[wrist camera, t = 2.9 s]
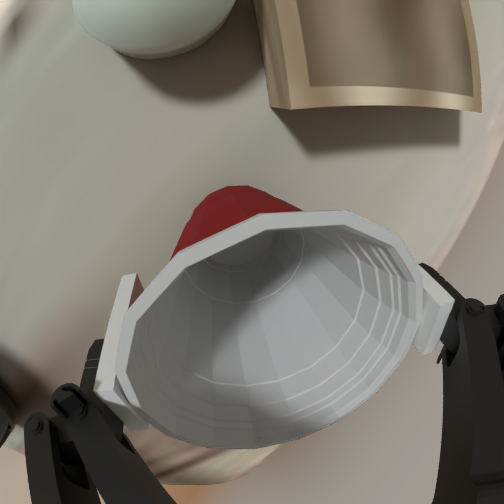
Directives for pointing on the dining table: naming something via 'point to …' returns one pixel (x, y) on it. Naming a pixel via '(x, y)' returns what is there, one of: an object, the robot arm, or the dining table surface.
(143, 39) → the pale green ball
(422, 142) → the dining table surface
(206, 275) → the plastic cup
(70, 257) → the dining table surface
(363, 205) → the dining table surface
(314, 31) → the maple open box
